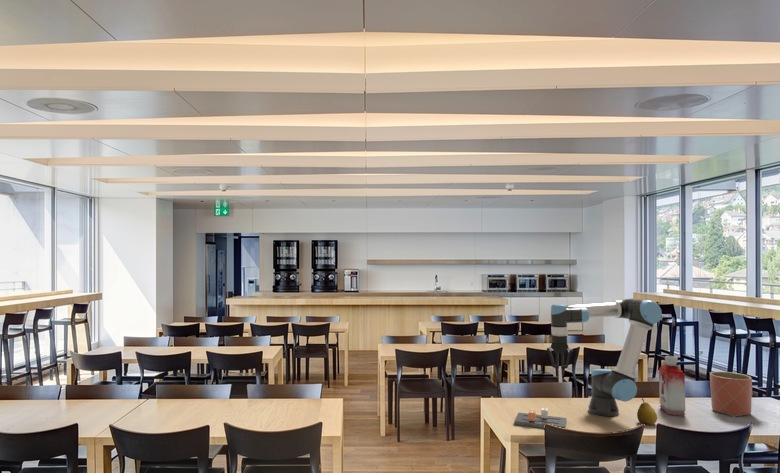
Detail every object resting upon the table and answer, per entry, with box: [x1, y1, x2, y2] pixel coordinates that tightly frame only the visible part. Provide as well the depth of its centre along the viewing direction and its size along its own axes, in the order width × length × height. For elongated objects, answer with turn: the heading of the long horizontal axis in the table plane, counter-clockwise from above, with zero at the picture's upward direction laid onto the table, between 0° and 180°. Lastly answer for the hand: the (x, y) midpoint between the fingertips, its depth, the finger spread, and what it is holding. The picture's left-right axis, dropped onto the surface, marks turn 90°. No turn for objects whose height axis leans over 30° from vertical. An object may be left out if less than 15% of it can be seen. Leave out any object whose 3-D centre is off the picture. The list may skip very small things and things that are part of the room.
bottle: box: [658, 355, 686, 417], centre depth 275 cm, size 14×10×30 cm
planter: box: [709, 371, 753, 417], centre depth 275 cm, size 19×19×20 cm
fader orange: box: [528, 410, 537, 421], centre depth 252 cm, size 3×4×4 cm
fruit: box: [636, 397, 658, 426], centre depth 255 cm, size 9×9×12 cm
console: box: [514, 412, 568, 429], centre depth 254 cm, size 24×15×2 cm, turn 69°
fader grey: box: [540, 407, 549, 419], centre depth 257 cm, size 3×4×4 cm
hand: (560, 381), depth 255 cm, fingers closed
